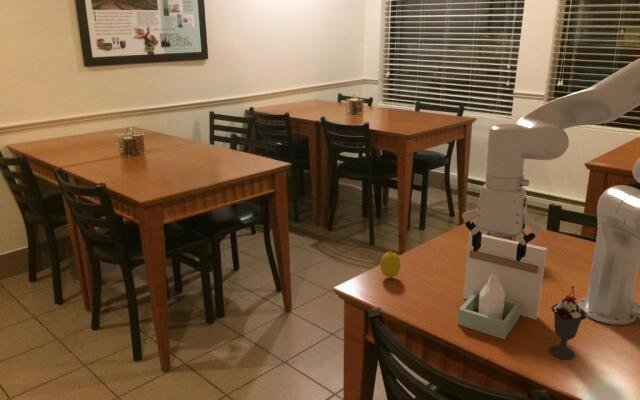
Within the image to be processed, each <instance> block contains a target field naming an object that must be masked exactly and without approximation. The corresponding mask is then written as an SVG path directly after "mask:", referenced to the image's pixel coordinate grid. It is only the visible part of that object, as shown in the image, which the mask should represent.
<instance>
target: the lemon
mask: <svg viewBox="0 0 640 400" xmlns="http://www.w3.org/2000/svg"><path fill="white" fill-rule="evenodd" d="M400 259H401V258H400V257H399V255H398V254H397V253H395V252H393V251H392V250H391V251H388V252H385V253H384V254H383V256H382V257H381V259H380V264H379V265H380V272H381V273H382V274H383V275H384V276H385V277H387V278H389V279H392V278H393V277H396V276H398V274H399V272H400V270H401V260H400Z"/></svg>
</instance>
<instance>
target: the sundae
mask: <svg viewBox="0 0 640 400" xmlns="http://www.w3.org/2000/svg"><path fill="white" fill-rule="evenodd" d="M574 288H575V286H574V285H573V286H571V292H570V294H569V295H566V296H565V298H563V299H561V300H560V301H559V302H558V303H555V304H553V305H552V306H551V308H550V310H551V311H552V313H553V316H554V317H553V319H554V325H553V326H554V332H555V334H556V336H557V337H558V338H559V339H560V343H559V345H553V346H550V348H549V353H550V354H551V356H553V357H555V358H557V359H560V360H565V361H567V360H572V359H574V358H575V356H576V354H575V353H574V351H573V350H572V349H570V348H569V347H567V343H568V341H570V340H573V339H574V338H575V337H576V336H577V332H578V330H579V327H580V324H581V321H582V320H586V318H587V316H586V312H585V311H584V310H583V309H581V308H580V306H579V305H578V303H577V301H576V300H577V297H575V290H574ZM572 293H573V295H572ZM571 295H572V296H571Z"/></svg>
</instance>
